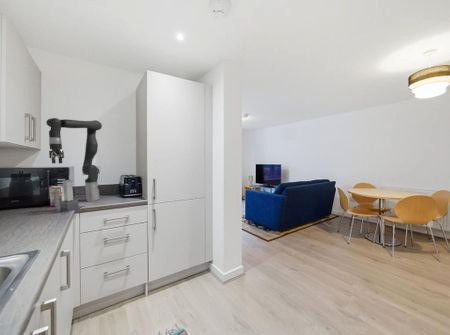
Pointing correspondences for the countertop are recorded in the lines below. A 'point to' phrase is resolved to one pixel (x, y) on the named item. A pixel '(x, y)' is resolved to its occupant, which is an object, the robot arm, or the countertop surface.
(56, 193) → the arrow post
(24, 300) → the countertop surface
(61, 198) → the candy bar box
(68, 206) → the stand base
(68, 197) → the column
